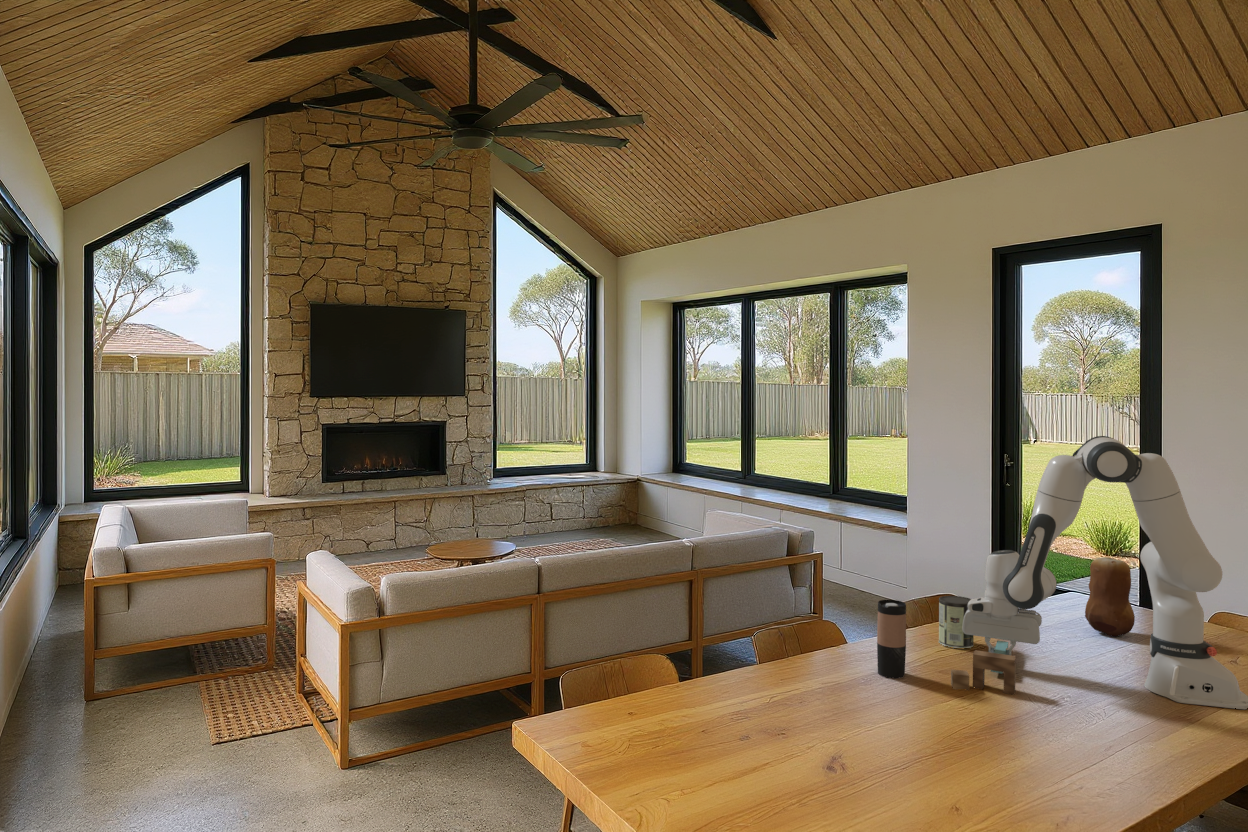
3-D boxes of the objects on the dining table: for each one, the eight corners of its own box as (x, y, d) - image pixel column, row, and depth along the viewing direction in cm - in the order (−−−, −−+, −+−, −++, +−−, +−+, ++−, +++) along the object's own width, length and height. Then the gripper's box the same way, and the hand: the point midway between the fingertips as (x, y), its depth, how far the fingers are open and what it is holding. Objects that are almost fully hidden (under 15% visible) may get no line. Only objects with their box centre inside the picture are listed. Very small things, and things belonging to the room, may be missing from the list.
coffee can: (965, 639, 258) (966, 595, 257) (979, 649, 247) (980, 603, 247) (933, 639, 258) (933, 595, 257) (945, 649, 248) (946, 603, 247)
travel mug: (901, 669, 229) (902, 599, 228) (908, 679, 221) (909, 607, 221) (874, 668, 230) (874, 599, 229) (880, 678, 222) (880, 606, 221)
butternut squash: (1134, 632, 265) (1135, 557, 264) (1134, 643, 254) (1135, 564, 253) (1085, 626, 273) (1086, 552, 272) (1083, 636, 261) (1085, 559, 260)
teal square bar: (1008, 652, 241) (1008, 642, 241) (1002, 673, 222) (1002, 662, 222) (997, 650, 243) (997, 640, 242) (990, 671, 223) (990, 660, 223)
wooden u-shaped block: (1015, 689, 214) (1015, 656, 213) (1014, 694, 210) (1014, 660, 210) (974, 683, 219) (974, 650, 218) (972, 687, 215) (973, 654, 215)
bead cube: (966, 685, 217) (967, 670, 217) (969, 690, 213) (969, 675, 213) (950, 684, 218) (951, 669, 218) (953, 689, 214) (953, 674, 214)
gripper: (1042, 608, 230) (1041, 656, 230) (964, 599, 240) (963, 645, 240) (1041, 614, 224) (1040, 663, 225) (962, 603, 234) (961, 651, 234)
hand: (999, 653), depth 232 cm, fingers closed on teal square bar, 3 cm apart
